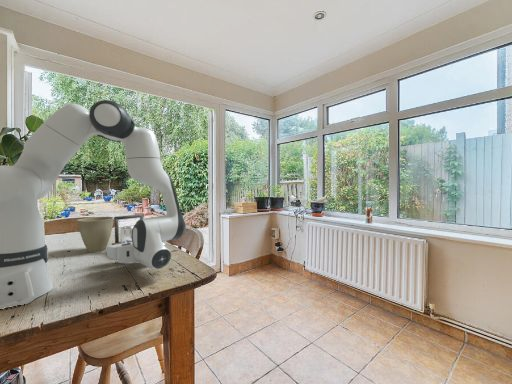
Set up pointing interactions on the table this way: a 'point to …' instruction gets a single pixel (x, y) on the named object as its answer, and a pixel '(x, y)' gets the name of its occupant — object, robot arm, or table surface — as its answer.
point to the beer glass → (126, 237)
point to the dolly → (118, 226)
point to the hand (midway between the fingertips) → (129, 243)
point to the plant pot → (95, 232)
